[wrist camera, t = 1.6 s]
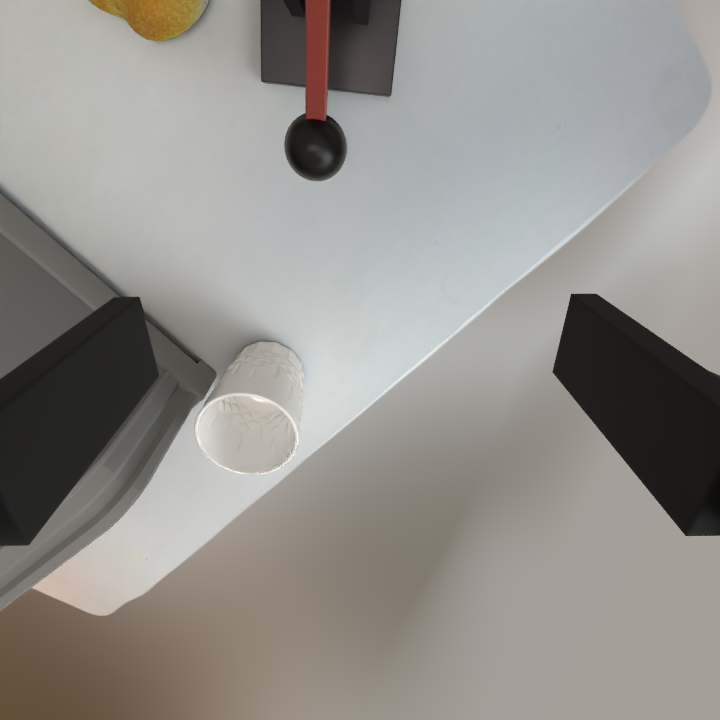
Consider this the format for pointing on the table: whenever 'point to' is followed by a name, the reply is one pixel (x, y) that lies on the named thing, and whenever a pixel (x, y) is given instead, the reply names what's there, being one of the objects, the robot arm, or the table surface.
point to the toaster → (134, 437)
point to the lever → (316, 106)
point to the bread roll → (156, 15)
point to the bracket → (333, 44)
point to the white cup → (254, 411)
